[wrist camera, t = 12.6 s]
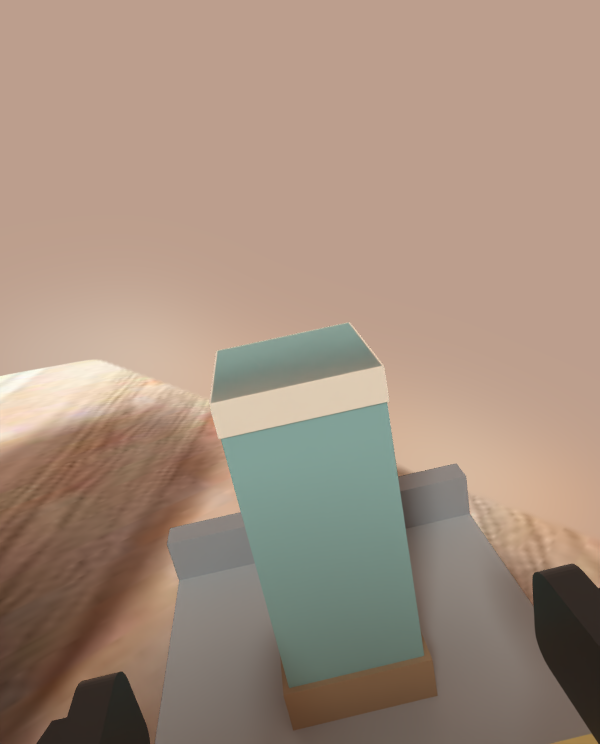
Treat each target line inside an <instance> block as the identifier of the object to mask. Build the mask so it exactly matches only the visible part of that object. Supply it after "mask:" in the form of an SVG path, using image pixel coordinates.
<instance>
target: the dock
mask: <svg viewBox="0 0 600 744" xmlns="http://www.w3.org/2000/svg"><path fill="white" fill-rule="evenodd" d="M398 480H399V487H400V494H401V501H402V508H403V514H404V521H405V528H406V535H407V541H408V548H409V555H410V562H411V569H412V575H413V582H414V589H415V596H416V603H417V609H418V616H419V623H420V630H421V632H422V635H423V637H424V640H425V642H426V645H427V647H428V650H429V652H430V655H431V657H432V660H433V666H434V673H435V681H436V688H437V695H438V696H434V697H430V698H426V699H422V700H418V701H414V702H410V703H405V704H401V705H397V706H393V707H389V708H385V709H381V710H377V711H372V712H368V713H364V714H360V715H356V716H352V717H348V718H343V719H339V720H335V721H331V722H327V723H323V724H319V725H314V726H310V727H306V728H302V729H298V730H294V731H293V728H292V724H291V721H290V717H289V713H288V710H287V706H286V703H285V699H284V696H283V685H282V673H281V661H280V653H279V649H278V646H277V642H276V638H275V635H274V631H273V627H272V624H271V620H270V616H269V613H268V609H267V606H266V602H265V598H264V595H263V591H262V587H261V584H260V580H259V576H258V573H257V569H256V565H255V562H254V558H253V554H252V551H251V547H250V543H249V540H248V536H247V532H246V529H245V525H244V522H243V518H242V514H241V512H240V513H235V514H231V515H227V516H222V517H218V518H213V519H209V520H205V521H200V522H196V523H191V524H187V525H182V526H178V527H174V528H170V531H169V536H168V541H167V546H168V549H169V552H170V555H171V558H172V561H173V564H174V567H175V570H176V573H177V576H178V578H179V586H178V593H177V599H176V606H175V613H174V619H173V626H172V632H171V639H170V646H169V652H168V659H167V666H166V672H165V679H164V686H163V692H162V699H161V706H160V712H159V719H158V726H157V732H156V739H155V744H598V742H597V741H596V739H595V738H594V736H593V735H592V733H591V732H590V730H589V729H588V727H587V726H586V724H585V722H584V721H583V719H582V718H581V716H580V715H579V713H578V712H577V710H576V709H575V707H574V706H573V704H572V703H571V701H570V699H569V698H568V696H567V695H566V693H565V692H564V690H563V689H562V687H561V686H560V684H559V683H558V681H557V680H556V678H555V677H554V675H553V673H552V672H551V670H550V669H549V667H548V666H547V664H546V662H545V660H544V658H543V656H542V654H541V651H540V649H539V646H538V643H537V639H536V635H535V625H534V606H533V605H532V604H531V602H530V601H529V599H528V598H527V596H526V595H525V593H524V592H523V590H522V589H521V588H520V586H519V585H518V583H517V582H516V580H515V579H514V577H513V576H512V575H511V573H510V572H509V570H508V569H507V567H506V566H505V564H504V563H503V561H502V560H501V559H500V557H499V556H498V554H497V553H496V551H495V550H494V548H493V547H492V546H491V544H490V543H489V541H488V540H487V538H486V537H485V535H484V534H483V532H482V531H481V530H480V528H479V527H478V525H477V524H476V522H475V521H474V519H473V518H472V517H471V515H470V512H469V501H468V491H467V480H466V476H465V474H464V473H463V472H462V470H461V469H460V468H459V466H458V465H457V464H452V465H447V466H443V467H439V468H434V469H430V470H425V471H421V472H416V473H412V474H408V475H403V476H399V477H398Z"/></svg>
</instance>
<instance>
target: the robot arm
mask: <svg viewBox="0 0 600 744" xmlns="http://www.w3.org/2000/svg"><path fill="white" fill-rule="evenodd" d="M533 603H534V625H535V635H536V639H537V643H538V646H539V649H540V651H541V654H542V656H543V658H544V660H545V662H546V664H547V666H548V667H549V669H550V670H551V672H552V673H553V675H554V677H555V678H556V680H557V681H558V683H559V684H560V686H561V687H562V689H563V690H564V692H565V693H566V695H567V696H568V698H569V699H570V701H571V703H572V704H573V706H574V707H575V709H576V710H577V712H578V713H579V715H580V716H581V718H582V719H583V721H584V722H585V724H586V726H587V727H588V729H589V730H590V732H591V733H592V735H593V736H594V738H595V739H596V741H597V742H598V744H600V588H597V586H596V585H595V584H594V583H593V582H592V581H591V580H590V579H589V578H588V576H587V575H586V574H585V573H584V572H583V571H582V570H581V569H580V568H579V567H578V566H576V565H575V564H568V565H564V566H560V567H556V568H552V569H548V570H544V571H540V572H535V573H534V575H533ZM37 744H150V739H149V733H148V729H147V725H146V723H145V720H144V718H143V715H142V713H141V711H140V708H139V706H138V703H137V701H136V698H135V696H134V694H133V691H132V689H131V686H130V684H129V681H128V679H127V677H126V675H125V674H124V673H123V672H118V673H114V674H109V675H105V676H101V677H97V678H93V679H89V680H85V681H81V682H80V683H79V684H78V686H77V688H76V690H75V693H74V696H73V700H72V703H71V706H70V709H69V713H68V716H67V717H66V718H62V719H58V720H54V721H52V722H51V723H50V725H49V726H48V728H47V729H46V731H45V732H44V733H43V735H42V736H41V738H40V739H39V741H38V742H37Z"/></svg>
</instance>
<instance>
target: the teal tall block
mask: <svg viewBox="0 0 600 744" xmlns="http://www.w3.org/2000/svg"><path fill="white" fill-rule="evenodd" d="M388 401H389V397H388V390H387V383H386V377H385V370H384V366H383V364H382V363H381V361H380V360H379V359H378V358H377V356H376V355H375V354H374V353H373V351H372V350H371V349H370V347H369V346H368V345H367V343H366V342H365V341H364V340H363V338H362V337H361V336H360V335H359V333H358V332H357V331H356V329H355V328H354V327H353V326H352V324H351V323H350V322H348V323H343V324H338V325H334V326H329V327H324V328H320V329H315V330H311V331H306V332H301V333H297V334H292V335H287V336H283V337H278V338H274V339H269V340H265V341H260V342H255V343H251V344H246V345H241V346H236V347H232V348H227V349H223V350H218V351H216V356H215V364H214V371H213V379H212V386H211V393H210V401H209V406H210V410H211V413H212V417H213V421H214V424H215V428H216V432H217V435H218V439H221V441H222V445H223V448H224V452H225V456H226V459H227V463H228V467H229V470H230V474H231V478H232V481H233V485H234V489H235V492H236V496H237V500H238V503H239V507H240V511H241V514H242V518H243V522H244V525H245V529H246V532H247V536H248V540H249V543H250V547H251V551H252V554H253V558H254V562H255V565H256V569H257V573H258V576H259V580H260V584H261V587H262V591H263V595H264V598H265V602H266V606H267V609H268V613H269V616H270V620H271V624H272V627H273V631H274V635H275V638H276V642H277V646H278V649H279V653H280V661H281V673H282V685H283V696H284V699H285V703H286V706H287V710H288V713H289V717H290V721H291V724H292V728H293V731H294V730H298V729H302V728H306V727H310V726H314V725H319V724H323V723H327V722H331V721H335V720H339V719H343V718H348V717H352V716H356V715H360V714H364V713H368V712H372V711H377V710H381V709H385V708H389V707H393V706H397V705H401V704H405V703H410V702H414V701H418V700H422V699H426V698H430V697H434V696H438V695H437V688H436V681H435V673H434V666H433V660H432V657H431V655H430V652H429V650H428V647H427V645H426V642H425V640H424V637H423V635H422V632H421V630H420V623H419V616H418V609H417V603H416V596H415V589H414V582H413V575H412V569H411V562H410V555H409V548H408V541H407V535H406V528H405V521H404V514H403V508H402V501H401V494H400V487H399V480H398V474H397V467H396V460H395V454H394V447H393V441H392V433H391V426H390V419H389V413H388V406H387V402H388Z"/></svg>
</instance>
